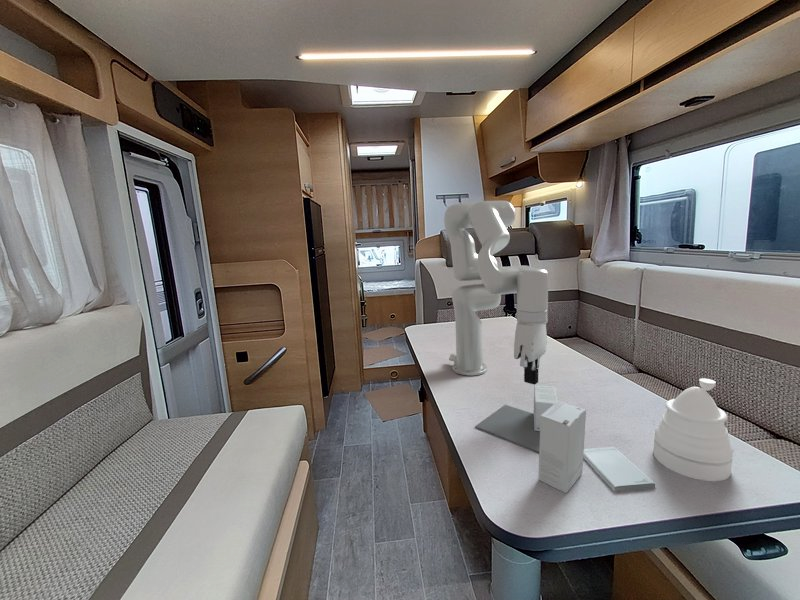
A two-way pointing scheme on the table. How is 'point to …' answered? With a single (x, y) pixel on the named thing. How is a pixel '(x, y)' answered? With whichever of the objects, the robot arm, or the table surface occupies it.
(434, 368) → the table surface
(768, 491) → the table surface
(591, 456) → the hard drive
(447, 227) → the robot arm
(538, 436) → the rubber mat
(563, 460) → the skincare box
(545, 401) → the small box
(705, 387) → the honey pot
